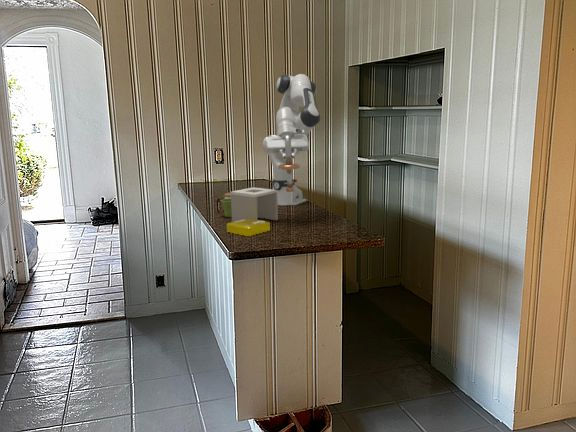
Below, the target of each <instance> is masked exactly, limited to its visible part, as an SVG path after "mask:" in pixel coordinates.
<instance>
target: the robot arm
mask: <svg viewBox="0 0 576 432" xmlns="http://www.w3.org/2000/svg"><path fill="white" fill-rule="evenodd" d="M276 81H277V82H276V91H277V92H278V93H280V94H281V95H283V97H282V98H281V101H280V104H279V108H278V110H277V113H276V116H275V117H276V119H275V124H276V127H277V129H276V132H277V133H276V135H275V134H272V135H268V136H266V137H264V139H263V141H262V148H263V151H264V152H265V153H266V154H267V155H268V156H269V159H270V161H271V165H272V166H271V167H272V175H273V177H272V178H273V179H272V190H277V205H278V206H297V205H300V204H303V203H305V202H307V200H308V199H306V198H305V197H304V198H303V191H302V190H301V189H300V188H298V187H297V186H296V183H297V182H298V178H293V173H292V186H293V187H294V191H292V192H287V191H286V187H287V169H279V167H278V165H281V164H286V156H285V136H291V149H292V159H295V158H296V155H300V154H301V153H302V152H308V151H309V149H310V143H309V139H308V134H310V133H311V131H312V130H313V129H314V128H315V126H316V125H317V124H319V123H320V121H321V114H320V111H319V109H318V105H317V101H316V96H315V95H316V92H317V85H316V82H313V81H312V80H310V78H309V77H308V76H307V75H306V74H304V73H299V74H296V75H294V76H293V75H288V74H282V75H280V76H279V77H278V79H277V80H276ZM301 107H302V109H301V110H300V108H301ZM299 110H300V112H299Z"/></svg>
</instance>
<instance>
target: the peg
mask: <svg viewBox="0 0 576 432" xmlns="http://www.w3.org/2000/svg"><path fill="white" fill-rule="evenodd" d="M285 156H286V164H281V165H278V167H279V169H287V187H286V191H287V192H292V191H294V187H293V186H292V174H293V170H295V169H296V170H297V169H300V168H301V167H300V166H301V165H300V164H299V163H293V158H292V149H291V136H285Z"/></svg>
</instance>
